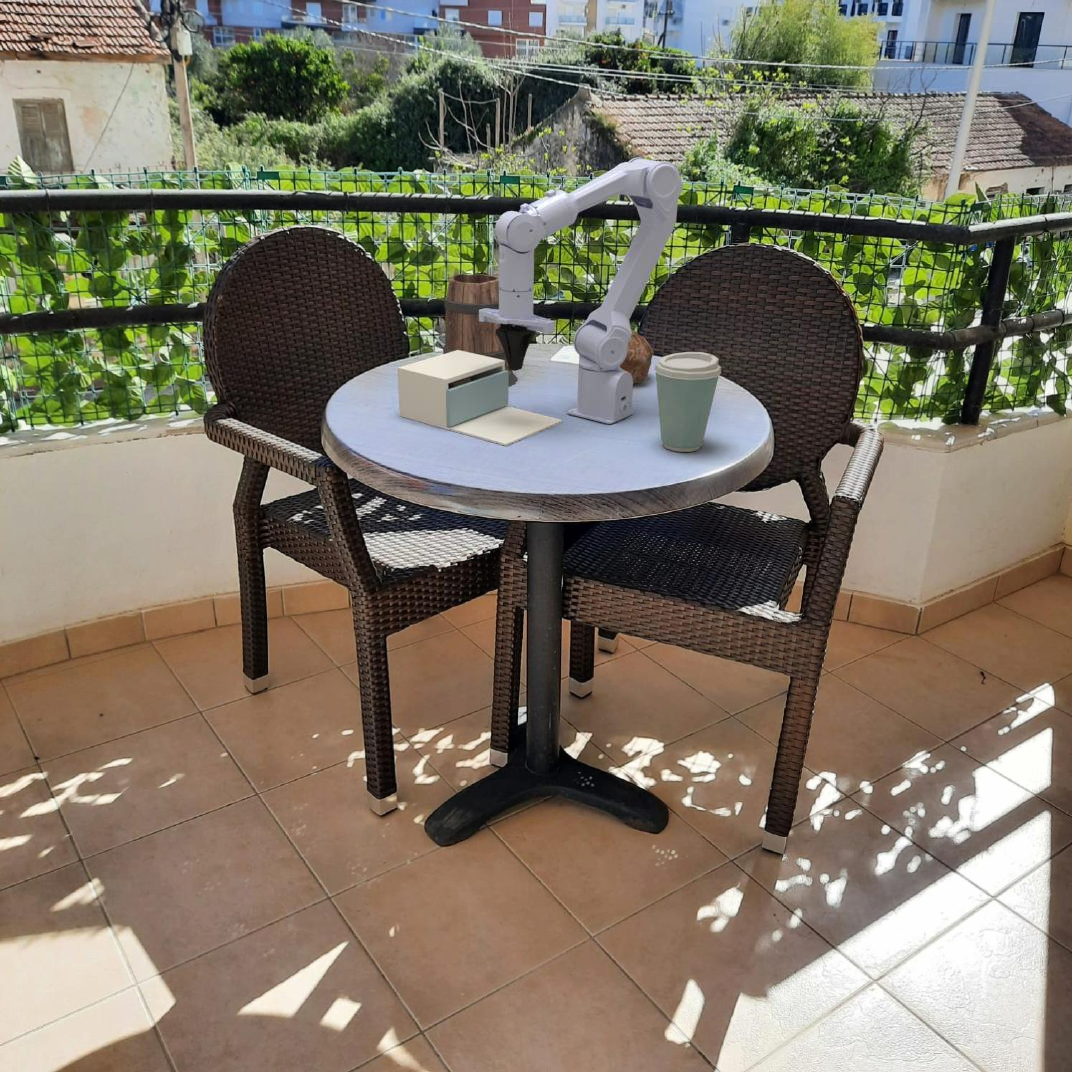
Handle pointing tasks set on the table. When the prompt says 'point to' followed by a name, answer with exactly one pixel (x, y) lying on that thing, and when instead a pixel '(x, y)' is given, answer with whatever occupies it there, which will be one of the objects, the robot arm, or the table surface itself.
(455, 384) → the birch block
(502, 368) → the console box
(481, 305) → the tankard
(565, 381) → the table surface
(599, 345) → the robot arm
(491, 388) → the teal drawer
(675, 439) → the disposable coffee cup
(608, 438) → the table surface
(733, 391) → the table surface
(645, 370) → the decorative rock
